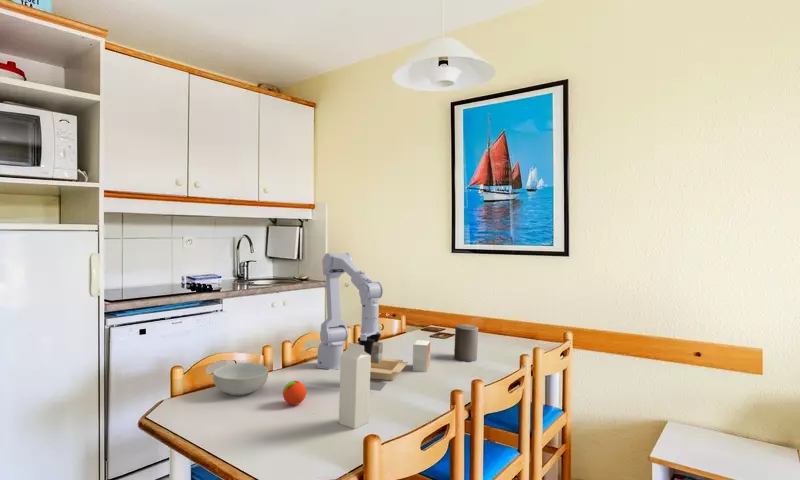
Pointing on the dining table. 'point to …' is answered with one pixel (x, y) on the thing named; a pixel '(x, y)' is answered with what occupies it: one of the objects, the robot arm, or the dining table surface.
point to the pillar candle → (466, 343)
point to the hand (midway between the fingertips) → (369, 356)
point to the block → (376, 352)
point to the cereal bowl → (240, 378)
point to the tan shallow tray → (386, 369)
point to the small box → (421, 355)
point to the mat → (376, 385)
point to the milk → (354, 386)
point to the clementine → (294, 392)
